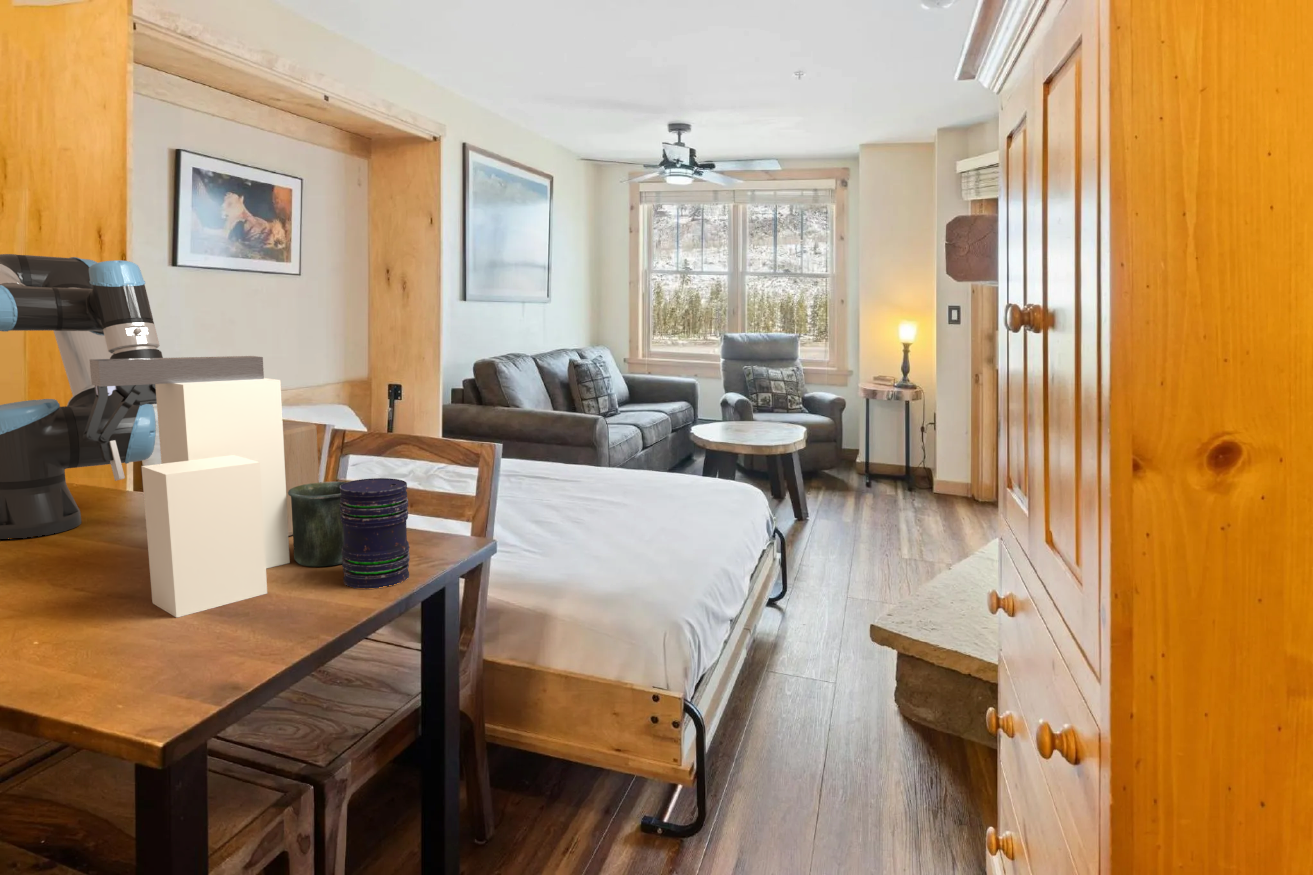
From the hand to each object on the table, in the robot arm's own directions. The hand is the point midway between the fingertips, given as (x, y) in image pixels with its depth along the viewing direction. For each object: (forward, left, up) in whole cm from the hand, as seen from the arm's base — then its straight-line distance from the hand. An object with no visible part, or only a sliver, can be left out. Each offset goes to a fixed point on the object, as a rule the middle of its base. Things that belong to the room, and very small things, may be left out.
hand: (165, 471), depth 132 cm
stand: (+22, +1, -13) cm, 25 cm away
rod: (+22, -4, +17) cm, 28 cm away
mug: (+29, +15, -13) cm, 35 cm away
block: (+7, +17, -13) cm, 22 cm away
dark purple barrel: (+44, +13, -13) cm, 47 cm away
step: (+34, -7, -13) cm, 37 cm away
